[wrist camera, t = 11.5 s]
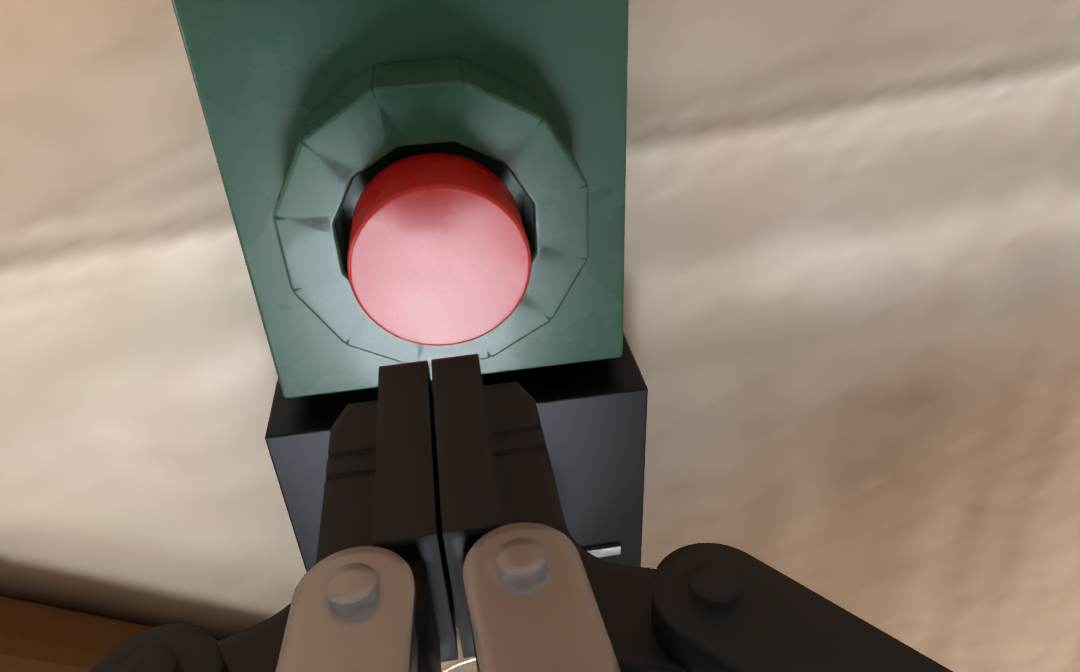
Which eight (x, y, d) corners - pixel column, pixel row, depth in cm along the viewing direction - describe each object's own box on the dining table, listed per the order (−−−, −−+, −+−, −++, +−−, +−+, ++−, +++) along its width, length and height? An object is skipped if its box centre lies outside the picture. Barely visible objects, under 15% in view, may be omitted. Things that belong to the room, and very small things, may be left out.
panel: (617, 591, 30) (638, 664, 28) (352, 632, 29) (348, 712, 27) (621, 328, 24) (649, 392, 21) (279, 369, 23) (263, 441, 20)
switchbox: (605, 315, 23) (639, 398, 20) (293, 353, 22) (274, 445, 19) (606, -63, 18) (654, -35, 14) (190, -34, 17) (140, 3, 13)
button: (525, 294, 18) (536, 336, 17) (366, 312, 18) (363, 356, 16) (515, 143, 16) (527, 175, 15) (336, 160, 16) (331, 194, 14)
